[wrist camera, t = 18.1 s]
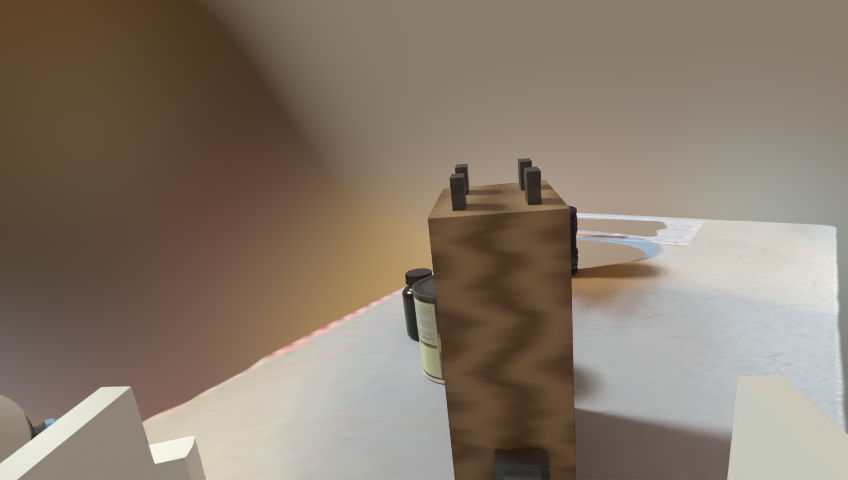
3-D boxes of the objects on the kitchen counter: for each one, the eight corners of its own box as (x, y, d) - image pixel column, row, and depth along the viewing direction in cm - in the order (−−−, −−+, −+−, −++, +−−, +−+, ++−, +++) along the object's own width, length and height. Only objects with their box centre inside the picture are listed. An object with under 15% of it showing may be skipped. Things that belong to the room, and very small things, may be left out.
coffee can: (454, 344, 80) (447, 268, 76) (500, 364, 72) (494, 280, 68) (408, 368, 74) (398, 286, 70) (452, 393, 66) (443, 302, 62)
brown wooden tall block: (456, 498, 48) (424, 184, 39) (463, 404, 63) (441, 164, 55) (576, 501, 46) (569, 172, 38) (553, 403, 61) (544, 154, 53)
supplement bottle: (447, 325, 88) (441, 265, 84) (439, 342, 81) (433, 278, 78) (412, 324, 89) (405, 266, 86) (402, 341, 83) (394, 279, 80)
